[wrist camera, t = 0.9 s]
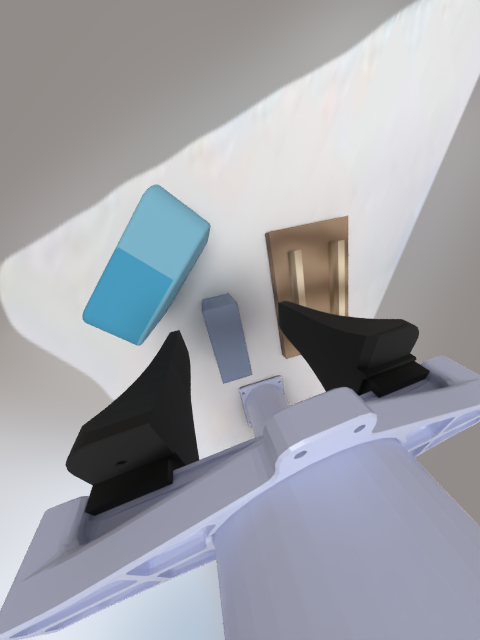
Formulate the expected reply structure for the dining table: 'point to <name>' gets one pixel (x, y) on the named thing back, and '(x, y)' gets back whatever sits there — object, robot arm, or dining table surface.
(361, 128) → the dining table surface
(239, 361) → the slate blue book
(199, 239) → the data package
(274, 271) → the shelf board
